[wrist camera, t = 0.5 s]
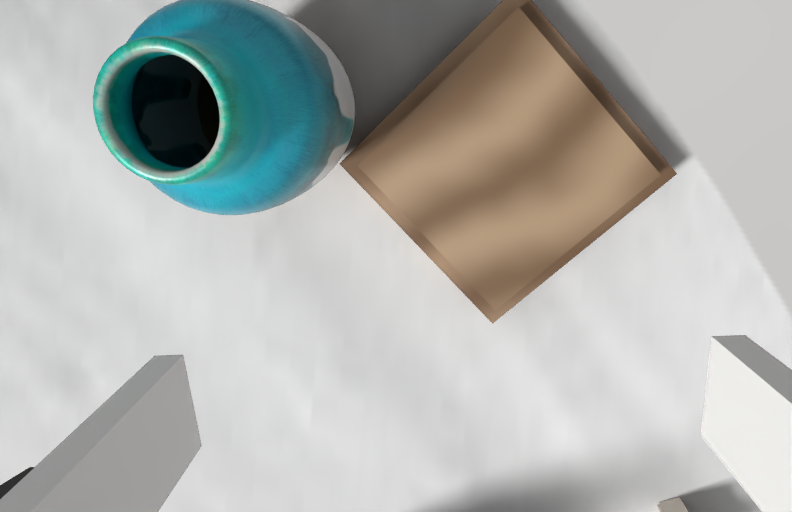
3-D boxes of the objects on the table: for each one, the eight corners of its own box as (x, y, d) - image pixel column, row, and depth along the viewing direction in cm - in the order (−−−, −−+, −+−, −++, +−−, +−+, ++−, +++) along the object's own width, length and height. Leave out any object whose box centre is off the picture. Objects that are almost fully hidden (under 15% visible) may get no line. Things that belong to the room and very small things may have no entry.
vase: (259, -3, 36) (79, -116, 17) (393, 81, 37) (357, 59, 18) (195, 134, 38) (-18, 162, 20) (321, 209, 39) (227, 300, 21)
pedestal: (344, 161, 38) (336, 165, 35) (513, -9, 34) (520, -19, 32) (490, 313, 40) (494, 328, 38) (664, 170, 37) (683, 175, 34)
